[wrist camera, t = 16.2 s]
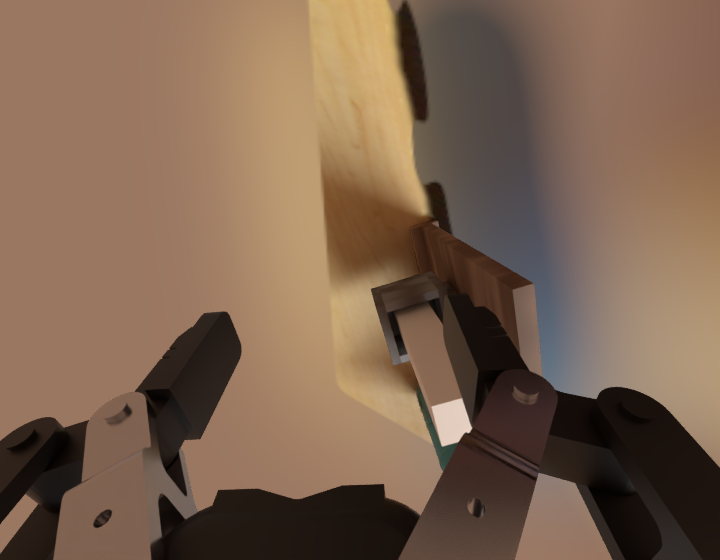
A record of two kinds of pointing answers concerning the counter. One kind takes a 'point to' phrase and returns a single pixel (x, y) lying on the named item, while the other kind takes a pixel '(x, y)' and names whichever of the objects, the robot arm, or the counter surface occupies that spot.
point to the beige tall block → (433, 370)
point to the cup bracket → (460, 291)
